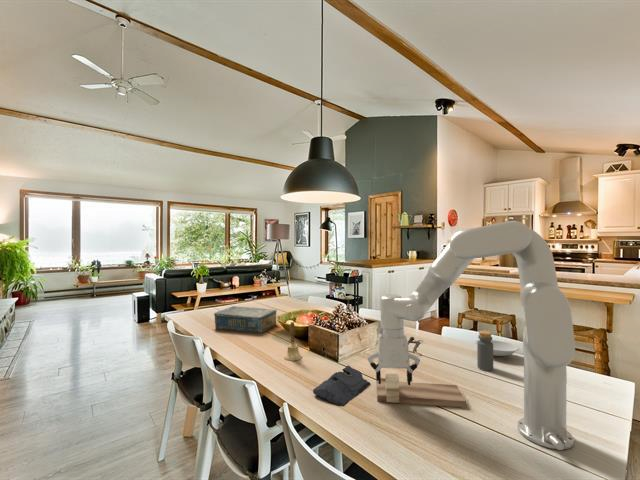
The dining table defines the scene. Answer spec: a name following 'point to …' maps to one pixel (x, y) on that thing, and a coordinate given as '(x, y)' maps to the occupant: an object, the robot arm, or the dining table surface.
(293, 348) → the hand bell
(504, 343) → the dish
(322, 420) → the dining table surface
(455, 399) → the walnut board
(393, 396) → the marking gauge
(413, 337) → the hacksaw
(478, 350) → the bottle
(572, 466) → the dining table surface
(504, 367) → the dining table surface
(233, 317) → the metal box
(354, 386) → the dark slate chunk
